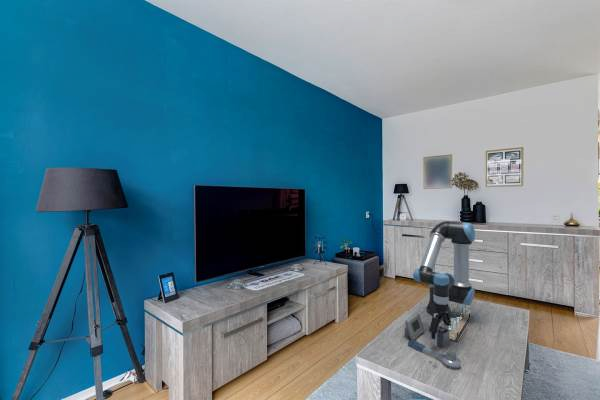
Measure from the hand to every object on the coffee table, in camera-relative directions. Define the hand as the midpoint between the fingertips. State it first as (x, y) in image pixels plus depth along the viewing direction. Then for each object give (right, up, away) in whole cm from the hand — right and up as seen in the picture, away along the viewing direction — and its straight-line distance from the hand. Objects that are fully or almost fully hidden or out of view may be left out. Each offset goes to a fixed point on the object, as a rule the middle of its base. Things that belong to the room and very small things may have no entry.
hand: (440, 340), depth 154 cm
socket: (0, -2, 0) cm, 2 cm away
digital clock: (-10, -2, +10) cm, 14 cm away
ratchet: (-9, -2, -11) cm, 14 cm away
